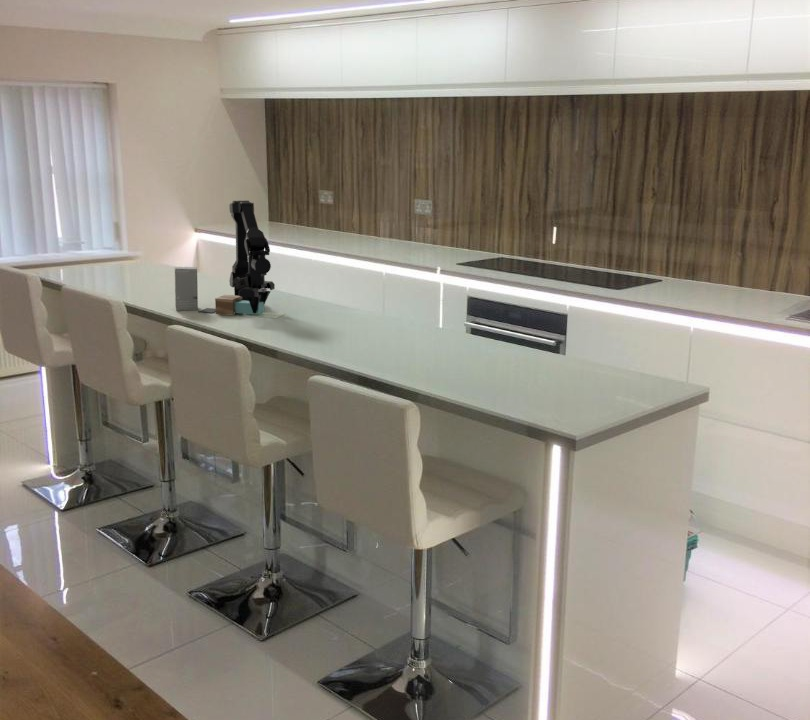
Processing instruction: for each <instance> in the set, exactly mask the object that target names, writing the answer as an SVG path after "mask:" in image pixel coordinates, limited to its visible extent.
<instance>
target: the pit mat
mask: <svg viewBox="0 0 810 720" xmlns="http://www.w3.org/2000/svg"><path fill="white" fill-rule="evenodd" d="M197 311H198V310H197ZM197 313H203V314H214V313H215V314H216V308H211V307H206V308H204V309H200V310H199V311H198V312H197Z"/></svg>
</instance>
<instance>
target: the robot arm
mask: <svg viewBox="0 0 810 720" xmlns="http://www.w3.org/2000/svg"><path fill="white" fill-rule="evenodd" d="M228 210H229V213H230V216H231V218H232V220H233V222H234V223H235V255H236V256H235V259H236V260H235V262H234V263H233V265H232V267H231V272H230V276H229V280H228V281H229V286H230V287H231V288H234V289H233V291H234V294H233V295H236V296H242V300H245V301H249V302H250V305H251V308H252V311H253V313H257V309H258V306H259V302H264V305H266V302H267V300H268V297H269V295H270V293H271V291H272V290H275V283H274V282H273V281H272V280H271V281H268V280H266V279H265V276H267V273H269V272H270V270H271V268H272V266H271V265H272V264H271V261H270V260H269V259H267V258H266V256H269V255H270V252H271V249H270V245H269V241H268V239H267V237H265V234H264V232H263V230H260V229H259V225H258V223H257V219H256V215H255V203H254V202H250V200H232V202H231V203H229V209H228ZM268 289H269V290H268Z"/></svg>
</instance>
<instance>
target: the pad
mask: <svg viewBox="0 0 810 720" xmlns="http://www.w3.org/2000/svg"><path fill="white" fill-rule="evenodd" d="M284 315H285V313H282V312H281V313H279V312H278V313H277V312H265V311H264V313H262V314H259V315H255V314H243V315H242V316H243V317H251V318H252V317H253V318H262V319H263V318H264V319H278V318H280V317H282V316H284Z"/></svg>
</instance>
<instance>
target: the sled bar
mask: <svg viewBox="0 0 810 720" xmlns="http://www.w3.org/2000/svg"><path fill="white" fill-rule="evenodd" d="M264 307H265V304H264V302H259V306H258V309H257V313H253V311H252V308H251V305H250V302H249V301H245V300H237V301H235V302H234V310H235V314H243V315H245V314H255V315H259V314H262V313H264V312H265V308H264Z"/></svg>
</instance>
